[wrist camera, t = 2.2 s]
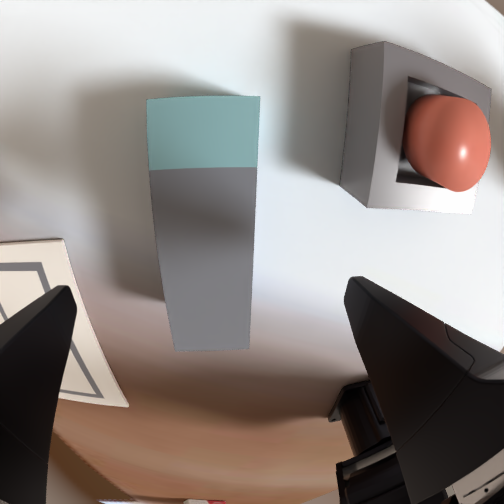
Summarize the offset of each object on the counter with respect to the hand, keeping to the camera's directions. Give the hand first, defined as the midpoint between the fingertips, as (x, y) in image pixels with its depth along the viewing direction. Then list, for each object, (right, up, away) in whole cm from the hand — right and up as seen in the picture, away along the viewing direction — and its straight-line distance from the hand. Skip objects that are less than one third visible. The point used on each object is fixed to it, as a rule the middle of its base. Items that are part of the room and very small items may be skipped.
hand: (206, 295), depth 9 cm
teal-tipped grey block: (-1, +3, +5) cm, 6 cm away
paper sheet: (-14, -5, +8) cm, 17 cm away
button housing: (+9, +8, +4) cm, 13 cm away
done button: (+10, +7, +2) cm, 12 cm away
